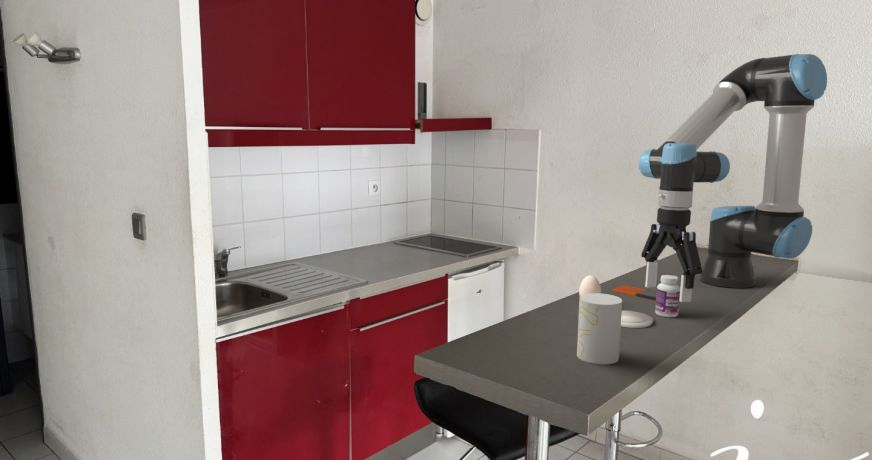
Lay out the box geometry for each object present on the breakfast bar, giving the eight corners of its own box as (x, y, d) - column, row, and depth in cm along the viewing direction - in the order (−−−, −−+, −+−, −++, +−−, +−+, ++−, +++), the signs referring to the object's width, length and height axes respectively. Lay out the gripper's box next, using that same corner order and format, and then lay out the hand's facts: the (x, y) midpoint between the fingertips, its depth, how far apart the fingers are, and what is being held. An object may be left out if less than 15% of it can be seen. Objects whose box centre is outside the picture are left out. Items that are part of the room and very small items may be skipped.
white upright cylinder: (571, 349, 124) (574, 293, 122) (609, 348, 125) (613, 292, 123) (584, 365, 116) (587, 305, 114) (625, 363, 117) (629, 304, 115)
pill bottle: (667, 319, 144) (670, 280, 143) (650, 313, 149) (653, 275, 148) (683, 316, 147) (686, 277, 145) (665, 310, 152) (668, 273, 150)
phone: (624, 284, 174) (673, 295, 163) (624, 288, 174) (673, 299, 163) (611, 288, 170) (661, 299, 159) (611, 292, 170) (661, 304, 159)
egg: (604, 306, 155) (606, 276, 153) (589, 309, 152) (591, 279, 151) (589, 301, 159) (590, 272, 158) (574, 304, 157) (575, 274, 155)
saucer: (635, 312, 150) (635, 308, 150) (662, 326, 139) (662, 321, 139) (595, 315, 147) (596, 311, 147) (620, 329, 136) (620, 325, 136)
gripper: (631, 202, 155) (625, 282, 158) (695, 215, 131) (687, 309, 134) (656, 202, 157) (650, 281, 160) (724, 214, 133) (715, 307, 136)
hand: (667, 294), depth 147 cm, fingers open, 13 cm apart
